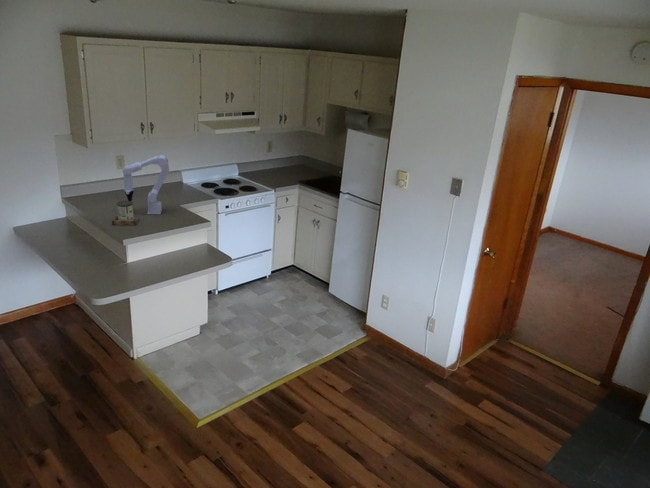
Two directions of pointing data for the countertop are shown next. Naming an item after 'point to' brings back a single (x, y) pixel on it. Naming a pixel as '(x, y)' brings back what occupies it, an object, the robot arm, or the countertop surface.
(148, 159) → the robot arm
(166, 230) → the countertop surface
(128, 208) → the coffee can
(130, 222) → the can dock
